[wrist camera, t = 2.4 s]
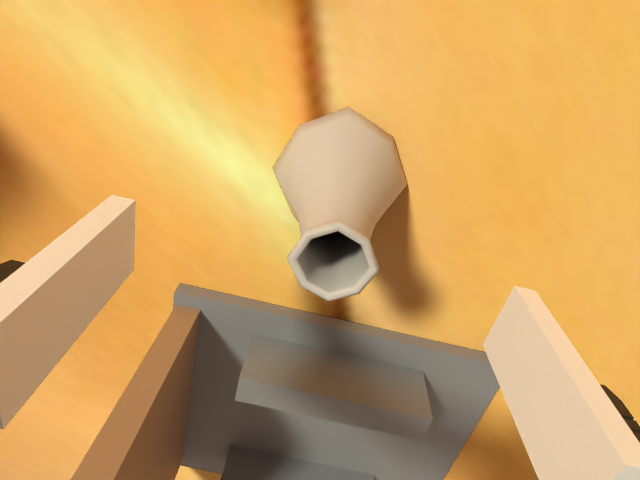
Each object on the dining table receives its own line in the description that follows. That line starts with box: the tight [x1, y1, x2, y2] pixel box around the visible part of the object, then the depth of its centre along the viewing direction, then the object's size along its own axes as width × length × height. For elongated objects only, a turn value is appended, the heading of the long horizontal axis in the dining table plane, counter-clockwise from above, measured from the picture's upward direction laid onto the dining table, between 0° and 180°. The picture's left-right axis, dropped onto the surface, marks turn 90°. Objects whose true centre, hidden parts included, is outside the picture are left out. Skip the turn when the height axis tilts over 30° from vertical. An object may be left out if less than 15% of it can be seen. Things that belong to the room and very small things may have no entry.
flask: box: [273, 107, 407, 302], centre depth 20 cm, size 7×7×10 cm
